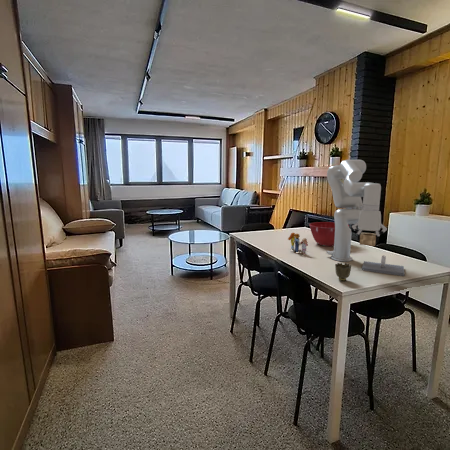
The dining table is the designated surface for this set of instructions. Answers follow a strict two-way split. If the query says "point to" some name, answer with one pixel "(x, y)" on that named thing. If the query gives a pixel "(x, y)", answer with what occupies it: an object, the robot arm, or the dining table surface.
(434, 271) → the dining table surface
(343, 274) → the cup
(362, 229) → the robot arm
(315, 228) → the mixing bowl
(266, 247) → the dining table surface
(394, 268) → the needle board
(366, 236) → the oak bead
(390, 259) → the dining table surface
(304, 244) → the doll family
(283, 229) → the dining table surface
